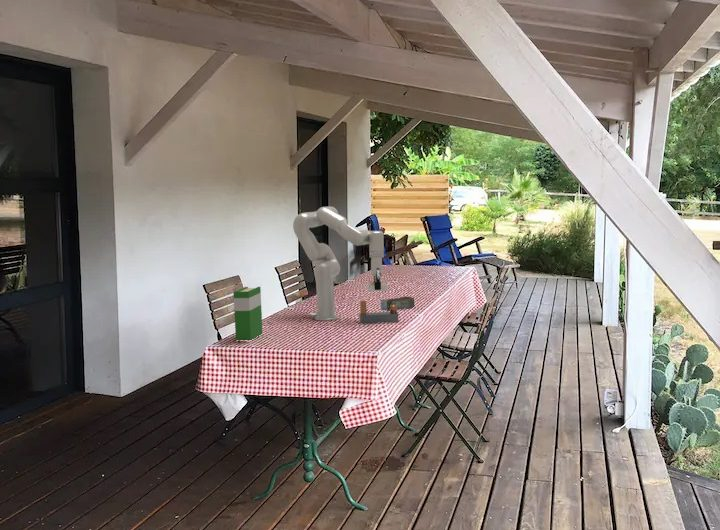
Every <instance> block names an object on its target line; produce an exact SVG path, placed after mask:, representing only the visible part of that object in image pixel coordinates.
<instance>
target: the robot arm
mask: <svg viewBox="0 0 720 530" xmlns="http://www.w3.org/2000/svg"><path fill="white" fill-rule="evenodd" d="M347 219H348V218H346V217H345V216H343V215H341V214H339V211H338V210H337V209H336V208H335V207H334V206H322V207H319V208H318V209H317V210H315V211H308V212H302V213H299V214H297V216H296V217H295V218H294V219H293V224H292V227H293V232H294V234H295V236H296V238H297V239H298V242H299V243H300V245H301V247H302V248H303V250H304V252H305V254H306V256H307V258H308V259H309V261H311V262H318V263H317V264H316V265H315V266H314V270H313V274H314V278H315V279H314V280H315V286H316V288H315V289H316V311H314V312H311V311H310V312H308V316H310V317H314V320H315V321H319V322H320V321H321V322H327V321H335V320H338V318H339V316H338V315H336V310H335V309H336V307H335V285H334V282H333V278H335V277H337V276H338V275H339V274H340V272H341V265H340V263H339V261H338V259H337V258H336V256H335V254H334V252H333V250H332V248H331V247H330V246H329V245H328V244H326V243H325V242H318V240H317V238H316V236H315V235H314V233H313V232H312V231H311V230H310V228H316V227H320V226H321V227H322V226H324V225H325V226H327V227H329V228H331V229H332V230H334V231H335V232H337V233H338V234H339V236H341V238H343V239H344V240H346V241H347V242H348V243H351V244H352V245H354V246H363V245H364V246H366V245H368V247H369V249H368V250H369V258H370V259H371V260H370V275H371V276H372V277H373V281H372V282H375V290H381V284H382V280H381V277H382V276H383V275H382V274H383V259H382V258H384V257H385V252H384V251H385V248H384V243H385V242H384V236H385V235H384V232H383V231H382V230H368V229H367V230H366V229H364V230H363V229H362V230H357V229H355V228H354V227H352V226H350V225H349V224H348V220H347Z"/></svg>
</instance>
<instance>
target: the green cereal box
mask: <svg viewBox="0 0 720 530" xmlns="http://www.w3.org/2000/svg"><path fill="white" fill-rule="evenodd" d="M261 295H262V293H261V286H257V287H250V288H249V286H244V287H242V288H240V289H237V290H235V291H233V306H234V307H233V309H234V312H233V313H234V330H235V341H236V340H252V339H254V338H256V337H257V336H259V335H261V334H262V333H263V317H262V315H263V314H262V296H261ZM263 334H264V333H263Z"/></svg>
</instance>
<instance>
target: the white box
mask: <svg viewBox="0 0 720 530" xmlns="http://www.w3.org/2000/svg"><path fill="white" fill-rule="evenodd" d="M366 289H367V292H387V291H388V285H387V283H381V290H375V282H373V281H369V284H368V283H367V288H366Z"/></svg>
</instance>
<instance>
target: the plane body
mask: <svg viewBox="0 0 720 530" xmlns="http://www.w3.org/2000/svg"><path fill="white" fill-rule="evenodd" d="M359 308H360V309H359V311H360V312H359V313H358V319H359V321H360V322H359V323H370V324H379V323H378V322H390V323H399V321H400V320H399V313H398V310H397V305H390V311H378V312H377V311H376V312H367V300H360V301H359Z"/></svg>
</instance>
